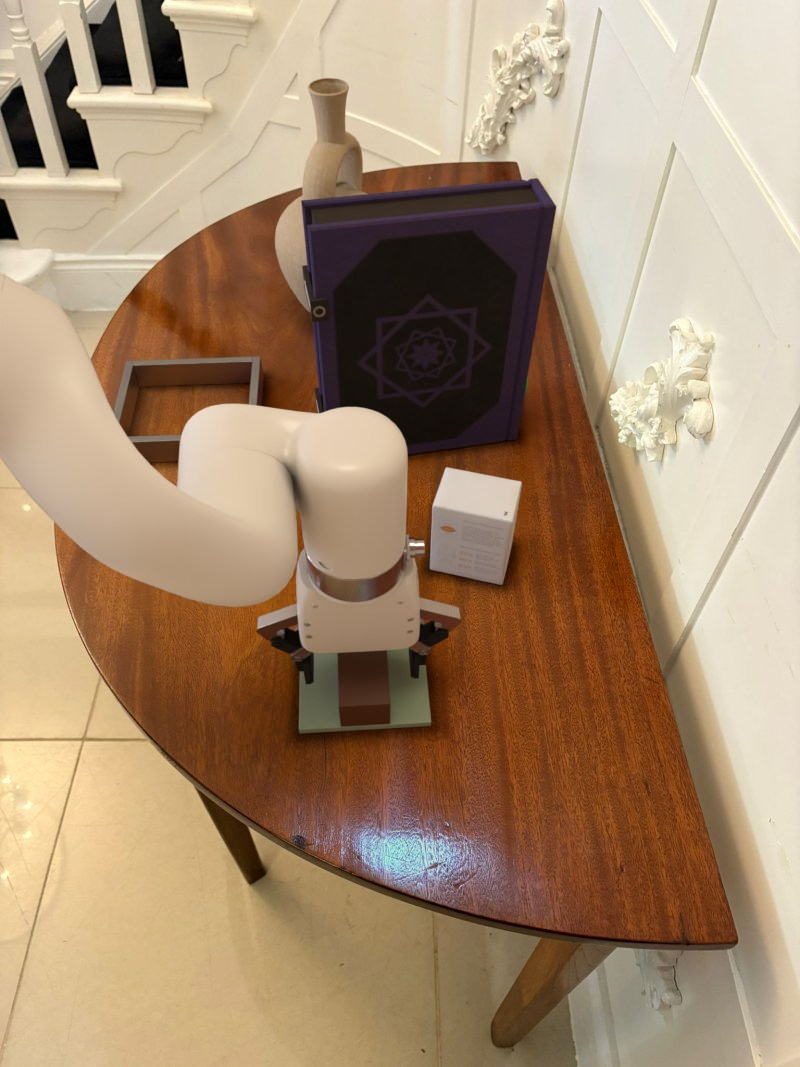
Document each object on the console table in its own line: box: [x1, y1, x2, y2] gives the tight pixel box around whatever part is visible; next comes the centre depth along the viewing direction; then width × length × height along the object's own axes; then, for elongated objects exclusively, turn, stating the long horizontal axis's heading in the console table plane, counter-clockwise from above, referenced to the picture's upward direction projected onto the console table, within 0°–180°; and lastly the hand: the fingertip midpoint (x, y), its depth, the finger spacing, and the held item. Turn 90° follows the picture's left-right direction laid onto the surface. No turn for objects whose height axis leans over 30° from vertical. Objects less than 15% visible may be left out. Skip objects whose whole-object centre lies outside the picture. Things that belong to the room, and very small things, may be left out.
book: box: [301, 177, 557, 455], centre depth 83 cm, size 24×6×30 cm, turn 102°
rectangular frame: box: [113, 355, 265, 464], centre depth 96 cm, size 17×15×4 cm
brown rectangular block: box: [338, 650, 390, 727], centre depth 72 cm, size 4×10×4 cm, turn 4°
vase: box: [274, 77, 368, 313], centre depth 100 cm, size 17×17×30 cm
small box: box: [429, 466, 523, 586], centre depth 79 cm, size 8×6×10 cm
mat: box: [298, 648, 432, 734], centre depth 74 cm, size 12×10×1 cm
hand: (361, 667), depth 72 cm, fingers open, 9 cm apart
